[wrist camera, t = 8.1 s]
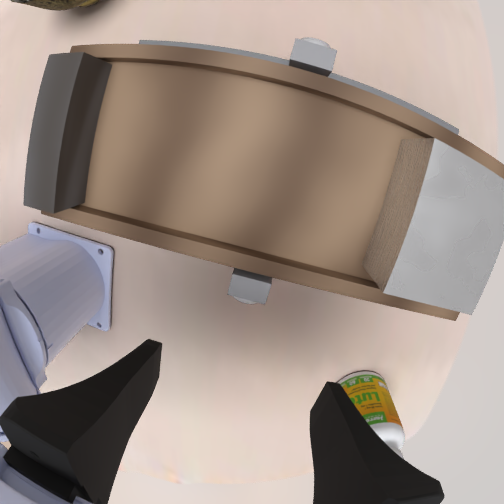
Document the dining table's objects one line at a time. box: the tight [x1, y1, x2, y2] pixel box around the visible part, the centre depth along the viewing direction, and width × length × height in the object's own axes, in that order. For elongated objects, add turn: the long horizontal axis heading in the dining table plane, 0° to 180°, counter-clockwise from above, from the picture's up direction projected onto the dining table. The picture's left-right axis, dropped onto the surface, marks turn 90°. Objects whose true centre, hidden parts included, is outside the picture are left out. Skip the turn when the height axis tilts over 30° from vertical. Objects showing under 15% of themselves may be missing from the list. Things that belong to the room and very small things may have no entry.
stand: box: [139, 38, 459, 304], centre depth 16 cm, size 23×14×6 cm, turn 76°
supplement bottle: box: [338, 371, 405, 459], centre depth 20 cm, size 5×5×10 cm
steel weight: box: [362, 138, 504, 315], centre depth 13 cm, size 6×7×4 cm
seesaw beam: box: [24, 44, 504, 321], centre depth 13 cm, size 26×10×4 cm, turn 76°
